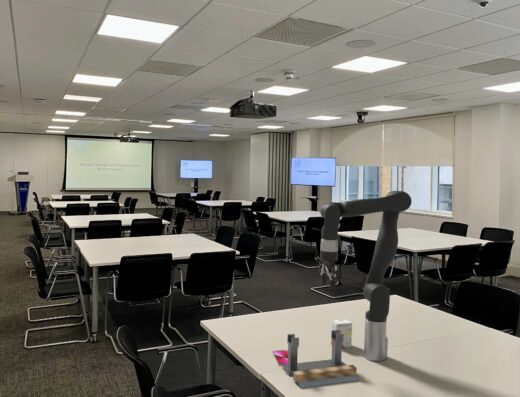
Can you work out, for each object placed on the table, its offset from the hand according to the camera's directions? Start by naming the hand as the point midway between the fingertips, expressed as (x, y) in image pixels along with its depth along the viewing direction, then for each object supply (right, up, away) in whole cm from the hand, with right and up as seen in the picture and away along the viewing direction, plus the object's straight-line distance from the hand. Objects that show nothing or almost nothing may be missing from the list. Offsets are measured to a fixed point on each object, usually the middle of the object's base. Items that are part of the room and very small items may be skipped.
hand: (327, 286), depth 192 cm
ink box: (+9, -32, +17) cm, 37 cm away
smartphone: (-19, -32, +1) cm, 38 cm away
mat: (-4, -33, -18) cm, 38 cm away
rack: (-7, -32, -9) cm, 34 cm away
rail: (-4, -32, -18) cm, 37 cm away
